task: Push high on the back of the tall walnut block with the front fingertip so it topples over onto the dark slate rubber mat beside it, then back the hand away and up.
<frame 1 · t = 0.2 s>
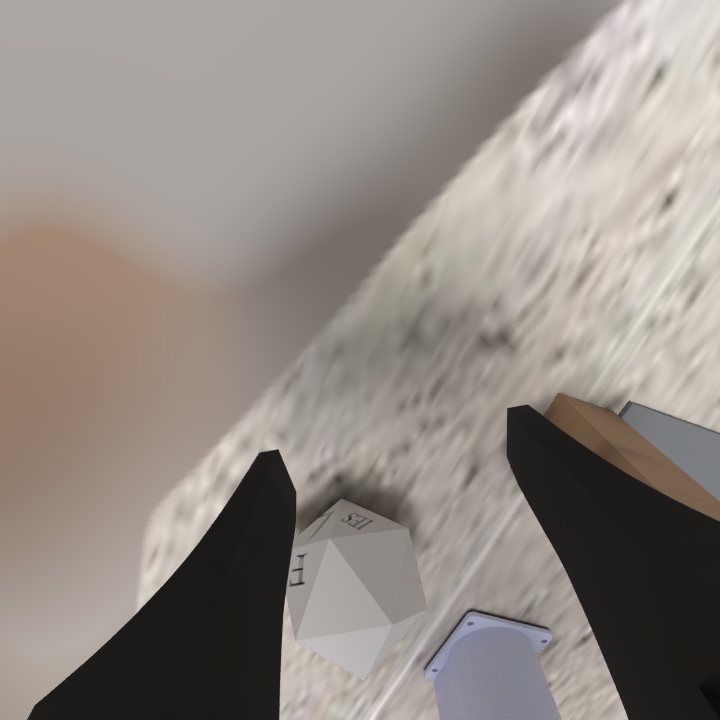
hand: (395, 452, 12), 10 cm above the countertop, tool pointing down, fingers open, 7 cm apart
die: (352, 526, 28), on the countertop
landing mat: (653, 478, 26), on the countertop
walnut block: (560, 440, 24), on the countertop
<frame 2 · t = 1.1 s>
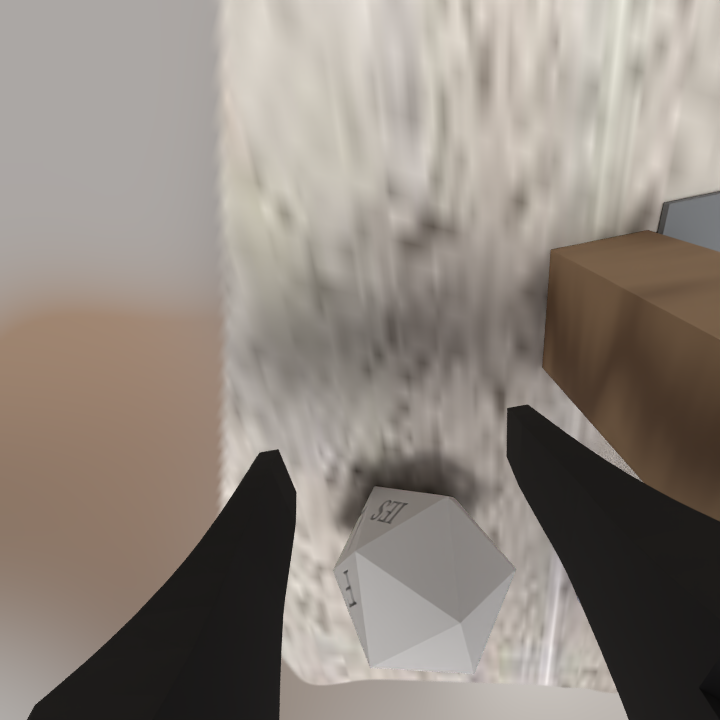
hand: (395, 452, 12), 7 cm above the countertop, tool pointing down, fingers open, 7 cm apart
die: (407, 505, 24), on the countertop
walnut block: (590, 305, 17), on the countertop
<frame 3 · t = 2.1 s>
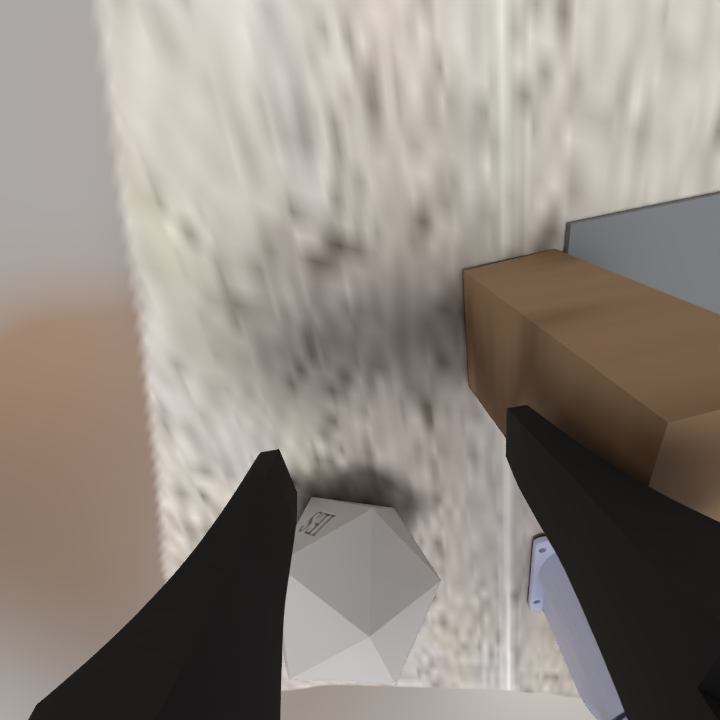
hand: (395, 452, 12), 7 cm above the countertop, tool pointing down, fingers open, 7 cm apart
die: (347, 514, 24), on the countertop
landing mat: (674, 299, 17), on the countertop
walnut block: (508, 323, 17), on the countertop, tilted 6°, touching gripper
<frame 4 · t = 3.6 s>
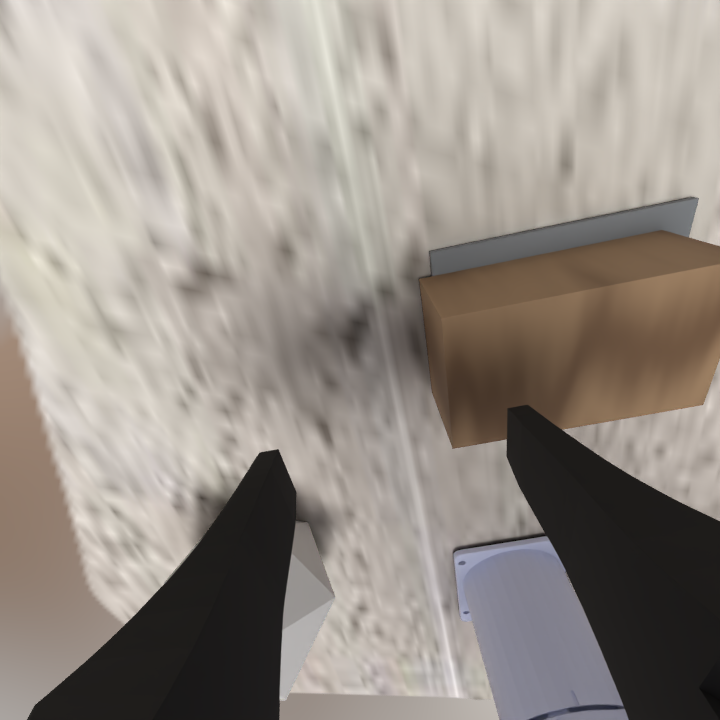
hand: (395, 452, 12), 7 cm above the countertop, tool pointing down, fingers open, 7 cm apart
die: (264, 529, 25), on the countertop
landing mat: (550, 322, 18), on the countertop
walnut block: (435, 362, 16), point 2 cm above the countertop, tilted 90°, touching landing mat
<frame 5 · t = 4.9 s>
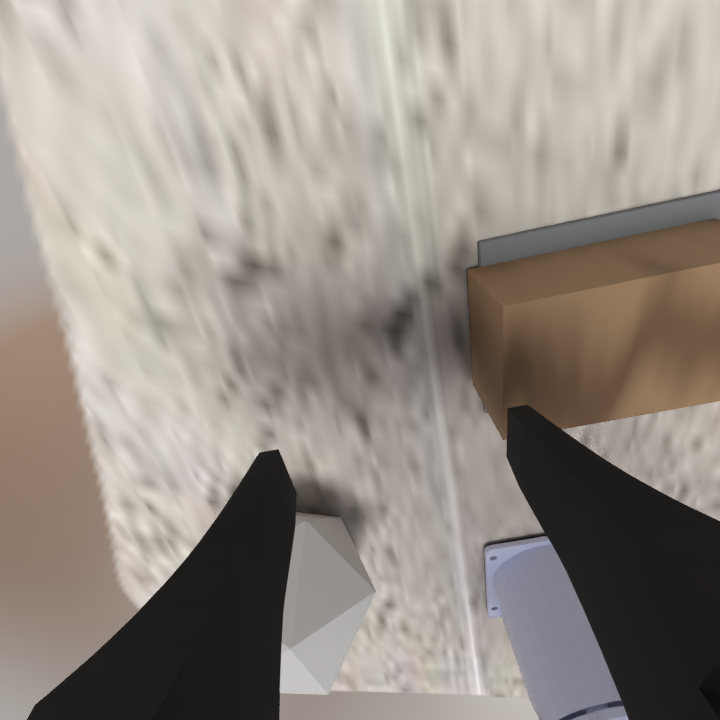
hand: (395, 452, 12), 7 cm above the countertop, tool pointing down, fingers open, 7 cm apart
die: (296, 524, 25), on the countertop
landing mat: (595, 313, 17), on the countertop
walnut block: (484, 353, 16), point 2 cm above the countertop, tilted 90°, touching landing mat
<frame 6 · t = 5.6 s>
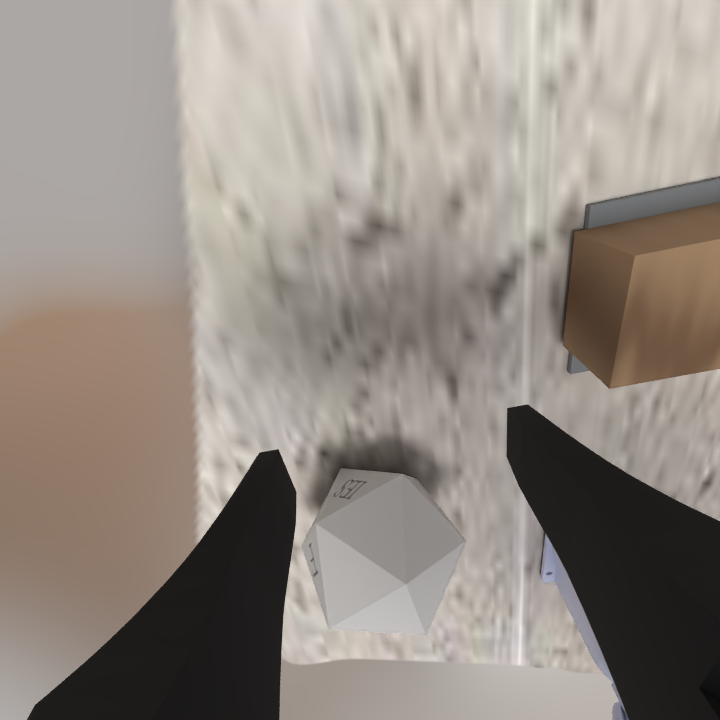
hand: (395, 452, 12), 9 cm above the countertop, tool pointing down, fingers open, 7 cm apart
die: (373, 486, 26), on the countertop
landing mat: (683, 277, 19), on the countertop
walnut block: (591, 309, 17), point 2 cm above the countertop, tilted 90°, touching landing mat
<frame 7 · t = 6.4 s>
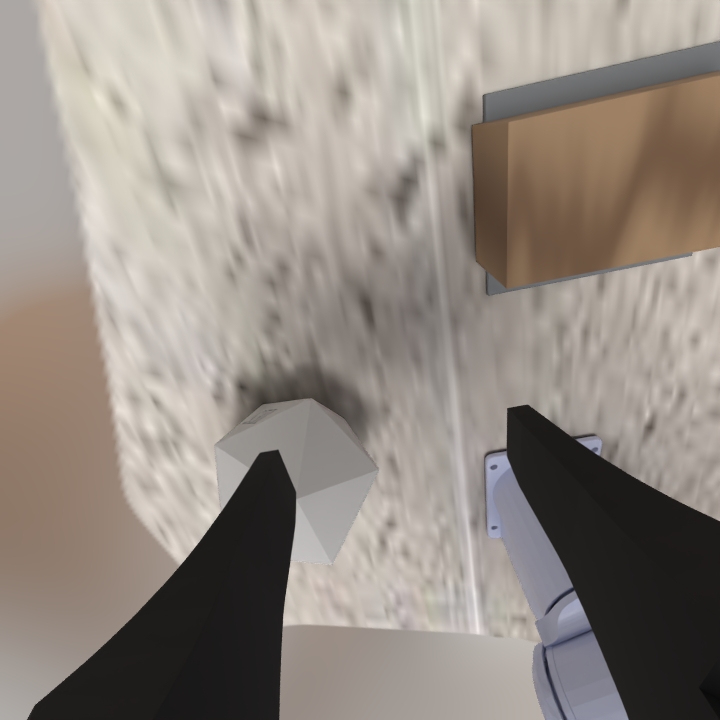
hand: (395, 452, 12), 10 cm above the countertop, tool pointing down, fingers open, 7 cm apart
die: (300, 427, 25), on the countertop
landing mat: (596, 183, 18), on the countertop
walnut block: (489, 206, 16), point 2 cm above the countertop, tilted 90°, touching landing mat
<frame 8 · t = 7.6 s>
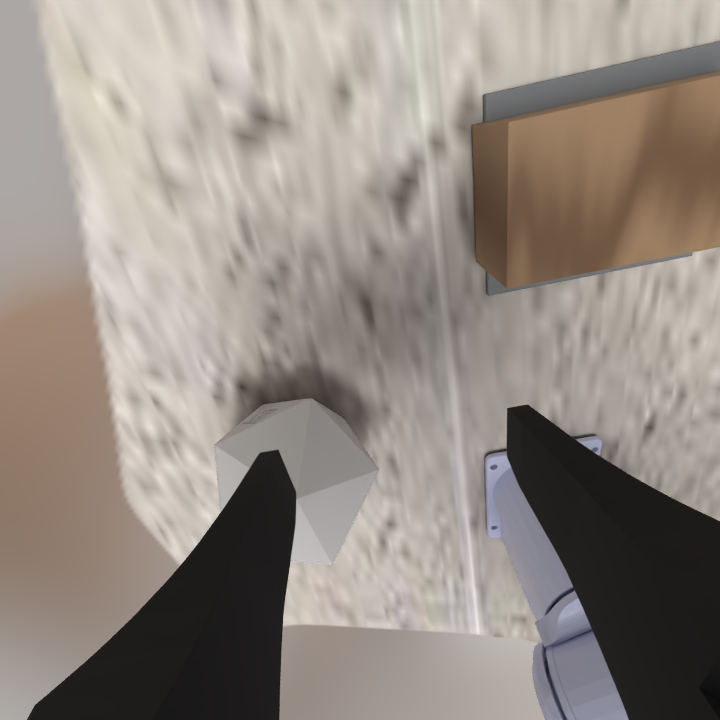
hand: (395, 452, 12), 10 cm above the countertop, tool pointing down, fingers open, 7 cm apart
die: (300, 427, 25), on the countertop
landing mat: (596, 183, 18), on the countertop
walnut block: (489, 206, 16), point 2 cm above the countertop, tilted 90°, touching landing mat
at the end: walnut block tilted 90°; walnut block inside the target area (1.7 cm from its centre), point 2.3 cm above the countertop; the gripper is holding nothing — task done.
